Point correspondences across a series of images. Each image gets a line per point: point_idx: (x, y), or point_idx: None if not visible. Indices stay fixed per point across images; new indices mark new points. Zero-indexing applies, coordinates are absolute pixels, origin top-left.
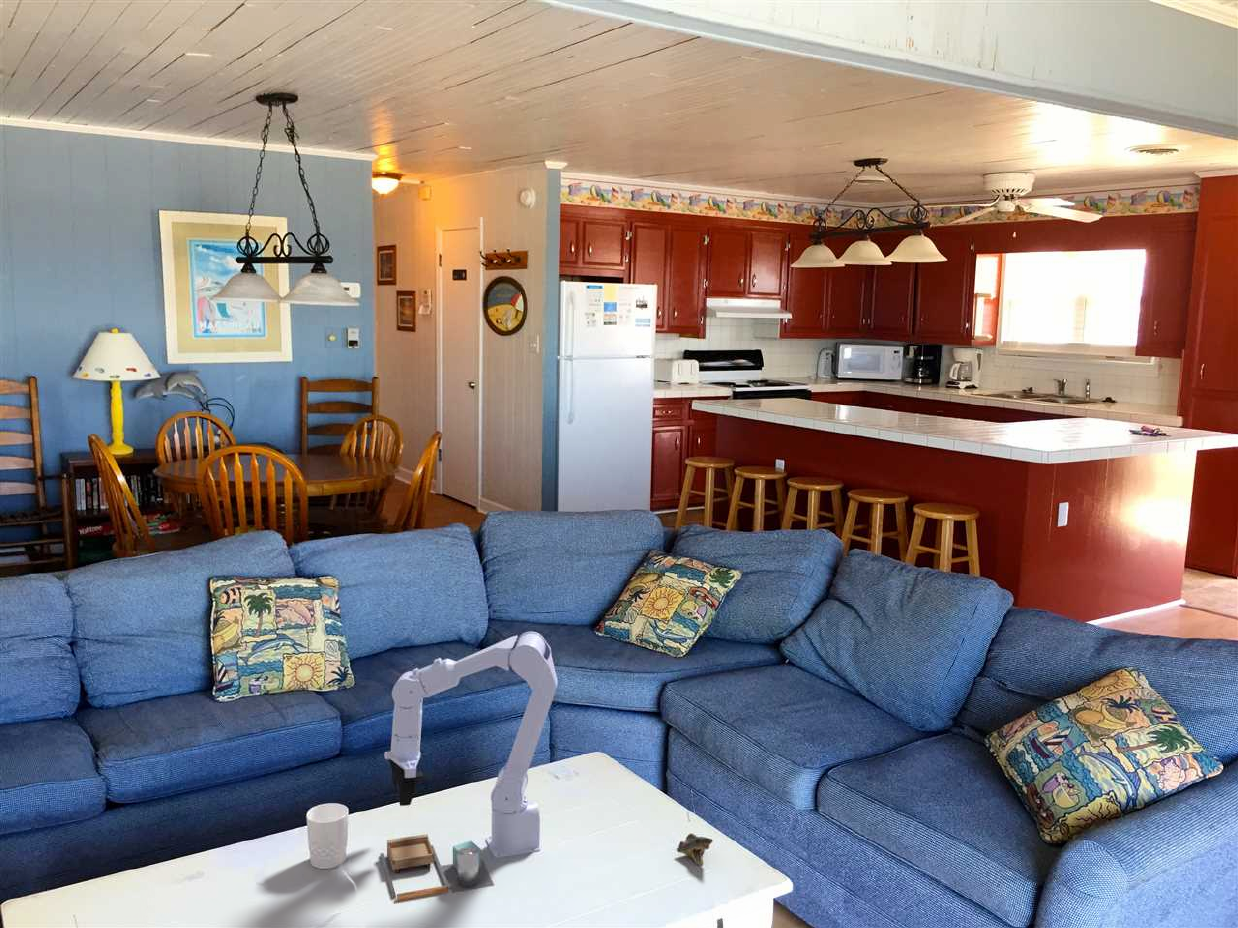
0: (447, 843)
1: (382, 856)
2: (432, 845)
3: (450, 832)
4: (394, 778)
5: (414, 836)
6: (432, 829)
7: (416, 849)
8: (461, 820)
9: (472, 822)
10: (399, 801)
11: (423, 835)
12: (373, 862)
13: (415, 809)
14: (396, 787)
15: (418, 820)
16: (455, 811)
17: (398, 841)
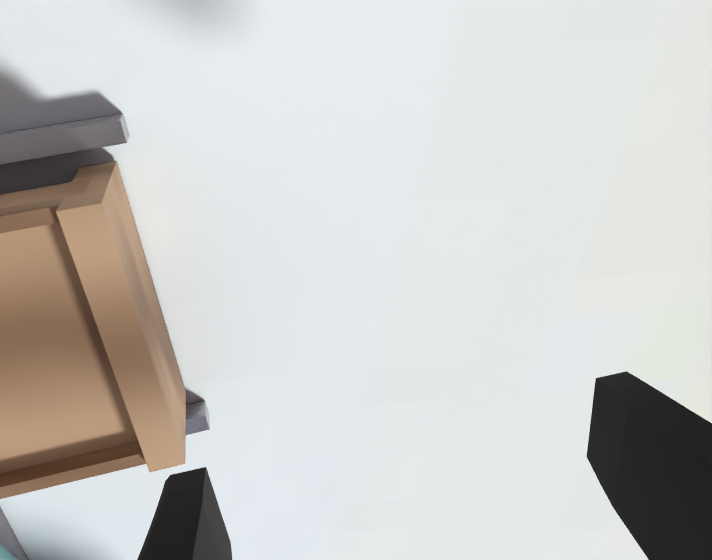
0: (260, 473)
1: (73, 136)
2: (203, 427)
3: (376, 474)
4: (672, 456)
5: (157, 391)
6: (430, 393)
7: (30, 393)
8: (483, 505)
9: (450, 548)
10: (157, 512)
11: (165, 443)
12: (44, 62)
13: (676, 294)
14: (595, 401)
15: (550, 318)
16: (579, 473)
17: (85, 290)
